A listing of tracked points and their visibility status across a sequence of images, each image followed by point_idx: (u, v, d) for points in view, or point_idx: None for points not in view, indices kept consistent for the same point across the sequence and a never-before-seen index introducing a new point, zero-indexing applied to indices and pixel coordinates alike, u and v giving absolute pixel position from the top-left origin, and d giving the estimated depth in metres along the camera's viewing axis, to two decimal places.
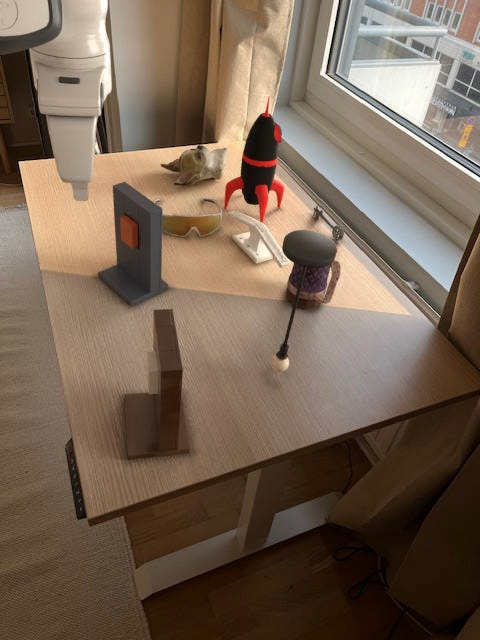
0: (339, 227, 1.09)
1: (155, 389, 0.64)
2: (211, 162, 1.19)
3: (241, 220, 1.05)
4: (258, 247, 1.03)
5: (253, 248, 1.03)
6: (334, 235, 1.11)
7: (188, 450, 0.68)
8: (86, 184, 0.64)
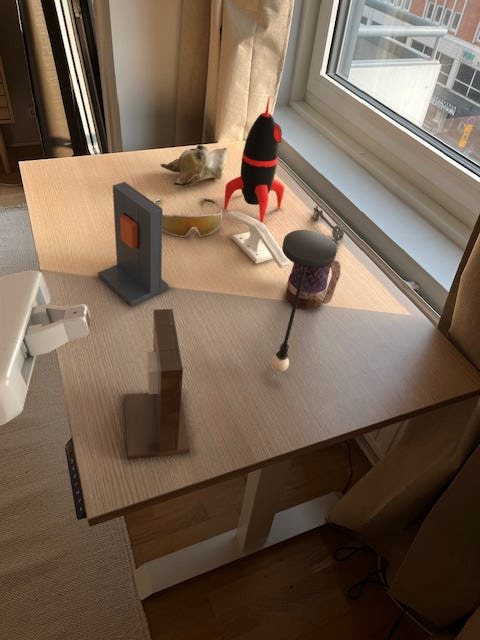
0: (339, 227, 1.09)
1: (155, 389, 0.64)
2: (211, 162, 1.19)
3: (241, 220, 1.05)
4: (258, 247, 1.03)
5: (253, 248, 1.03)
6: (334, 235, 1.11)
7: (188, 450, 0.68)
8: (50, 329, 0.42)
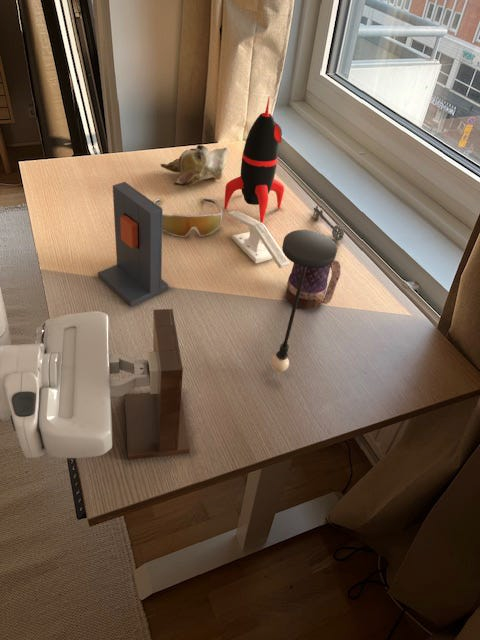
0: (339, 227, 1.09)
1: (156, 389, 0.64)
2: (211, 162, 1.19)
3: (241, 220, 1.05)
4: (258, 247, 1.03)
5: (253, 248, 1.03)
6: (334, 235, 1.11)
7: (188, 450, 0.68)
8: (126, 383, 0.61)
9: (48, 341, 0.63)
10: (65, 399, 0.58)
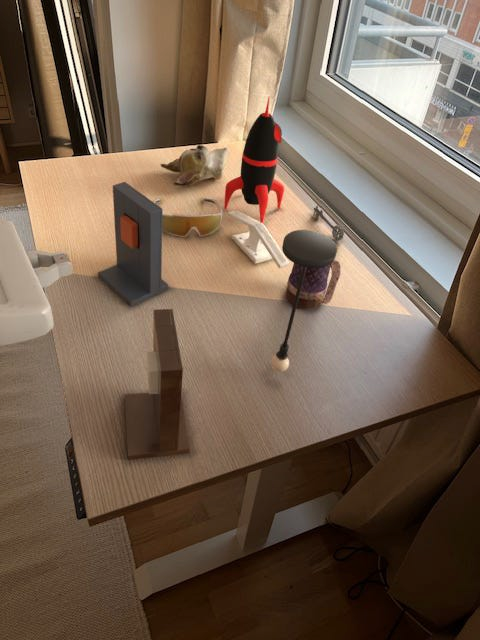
0: (339, 227, 1.09)
1: (155, 389, 0.64)
2: (211, 162, 1.19)
3: (241, 220, 1.05)
4: (257, 247, 1.03)
5: (252, 248, 1.03)
6: (334, 235, 1.11)
7: (188, 450, 0.68)
8: (51, 271, 0.63)
9: None
10: None
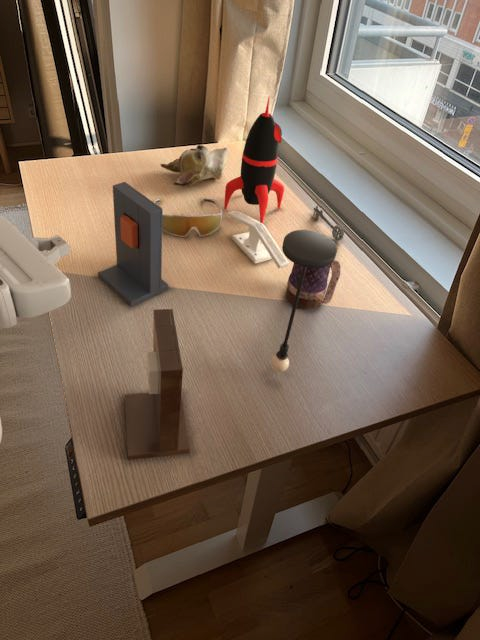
0: (339, 227, 1.09)
1: (155, 389, 0.64)
2: (211, 162, 1.19)
3: (241, 220, 1.05)
4: (257, 247, 1.03)
5: (252, 248, 1.03)
6: (334, 235, 1.11)
7: (188, 450, 0.68)
8: (55, 252, 0.74)
9: None
10: (16, 273, 0.69)
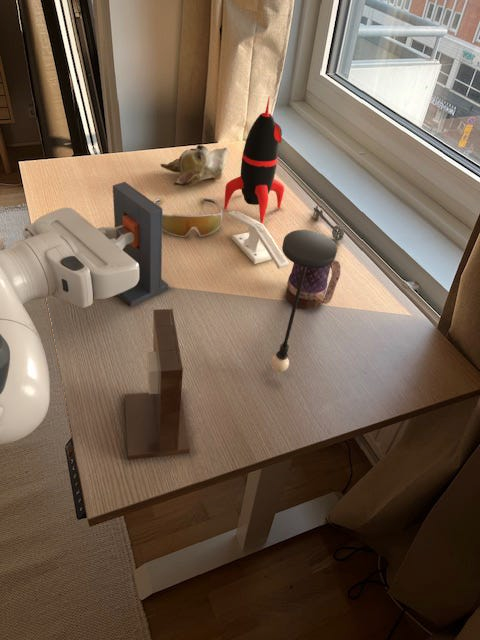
0: (339, 227, 1.09)
1: (155, 389, 0.64)
2: (211, 162, 1.19)
3: (241, 220, 1.05)
4: (257, 247, 1.03)
5: (252, 248, 1.03)
6: (334, 235, 1.11)
7: (188, 450, 0.68)
8: (122, 240, 0.82)
9: None
10: (91, 258, 0.76)
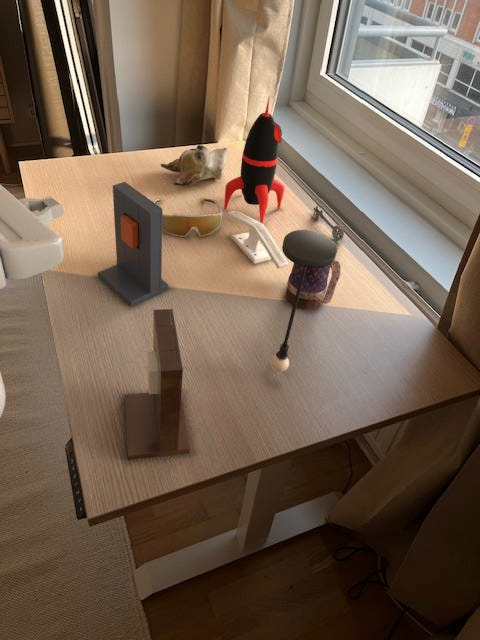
0: (339, 227, 1.09)
1: (155, 389, 0.64)
2: (211, 162, 1.19)
3: (240, 220, 1.05)
4: (257, 247, 1.03)
5: (252, 248, 1.03)
6: (334, 235, 1.11)
7: (188, 450, 0.68)
8: (46, 212, 0.70)
9: None
10: (5, 232, 0.64)
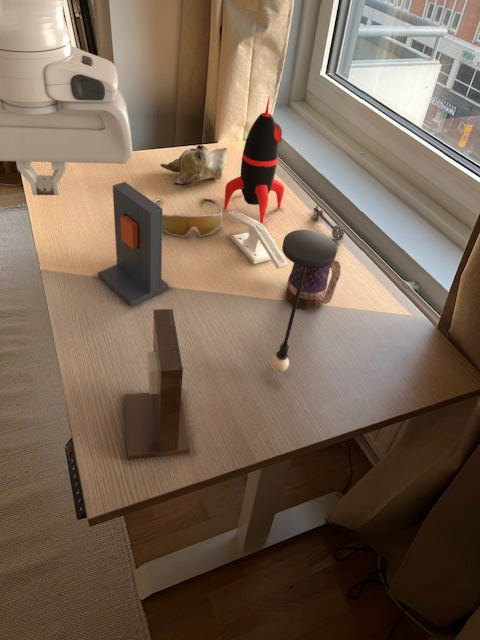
0: (339, 227, 1.09)
1: (155, 389, 0.64)
2: (211, 162, 1.19)
3: (240, 220, 1.05)
4: (256, 247, 1.03)
5: (251, 248, 1.03)
6: (334, 235, 1.11)
7: (188, 450, 0.68)
8: None
9: None
10: None
